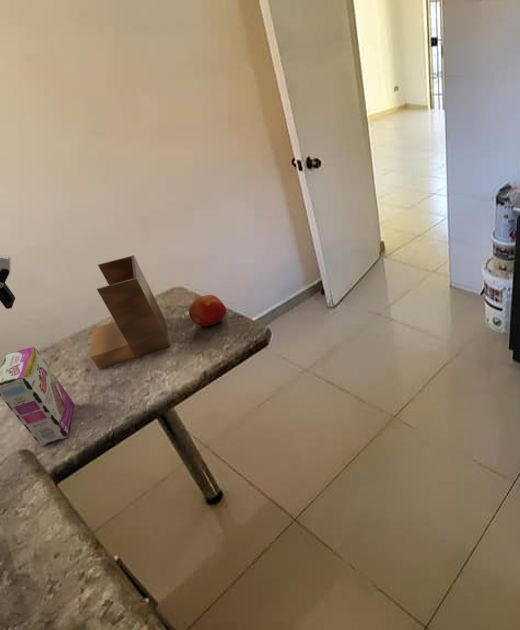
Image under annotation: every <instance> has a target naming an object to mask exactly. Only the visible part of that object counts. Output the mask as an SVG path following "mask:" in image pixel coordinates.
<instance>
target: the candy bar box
mask: <svg viewBox="0 0 520 630" xmlns="http://www.w3.org/2000/svg"><path fill="white" fill-rule="evenodd" d="M0 398H1V400H2V401H3V402H4V403H5V404H6V406H7V407H8V408H9V409H10V410H11V412H12V414H14V415H15V416H16V417H17V419H18V420H19V421H20V423H21V424H22V425H23V426H24V427H25V428H26V430H27V431H28V432H29V433H30V435H31V436H32V437H33V438H34V440H35V442H37V443H38V445H39V446H40V447H44V446H48V445H51V444H53V443H56V442H59V441H63V440H65V439H67V438H69V436H70V430H71V423H72V419H73V413H74V408H75V403H74V401H73V400H72V398H71V397H70V395H69V394H68V392H67V391H66V390H65V388H64V387H63V386H62V384H61V383H60V381H59V379H58V378H57V377H56V376H55V374H54V373H53V371H52V369H51V368H50V366H49V364H47V362H46V361H45V359H44V358H43V357H42V355H41V354H40V352H39V351H38V349H37V348H36V347H35V346H31V347H28V348H25V349H20V350H17V351H14V352H11V353H7V354H6V356H5V357H4V360H3V362H2V364H1V366H0Z"/></svg>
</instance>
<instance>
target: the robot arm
mask: <svg viewBox="0 0 520 630" xmlns="http://www.w3.org/2000/svg"><path fill="white" fill-rule="evenodd" d="M11 261H12V260H11V257H10V256H9V255H4V254H3V255H1V254H0V303H1V304H2V306H3V307H4V308H5V309H7V310H9V309H12V308H13V306H14V303H15V301H16V297H15V294H14V293H13V292H12V290H11V289H10V288H9V286H8V285H7V283H6V281H7V279H8V277H9V275H10V273H11V272H12V271H11V264H12V263H11Z"/></svg>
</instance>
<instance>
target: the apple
mask: <svg viewBox="0 0 520 630" xmlns="http://www.w3.org/2000/svg"><path fill="white" fill-rule="evenodd" d="M226 314H227V308H226V305H225V304H224V303H223V301H222V300H221V299H220V298H218V297H217V296H216V295H214V294H205V295H203V296H199V297H198V298H196V299H195V300H194V301H193V302H192V303H191V304H190V306H189V308H188V315H189V318H190V319H191V321H193V323H195V324H196V325H198V326H201V327H209V326H213V325H215V324H218V323H219V322H221V321H222V320H223V319H224V317H225V316H226Z"/></svg>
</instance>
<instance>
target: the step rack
mask: <svg viewBox="0 0 520 630" xmlns="http://www.w3.org/2000/svg"><path fill="white" fill-rule="evenodd" d="M97 266H98V268H99V270H100V272H101V273H102V276H103V277H104V279H105V281H106V283H107V285H105V286H101V287H98V288H96V291H97V292H98V294H99V296H100V297H101V299H102V301H103V303H104V304H105V307H106V308H107V310H108V312H109V314H110V315H111V317H112V319H113V321H114V322H110V323H106V324H103V325H101V326H97V327H94V328H92V331H91V332H92V333H91V335H92V336H91V351H90V353H91V354H90V357H91V359H92V360H93V362H94V363H95V365H96V367H97V368H98V370H103V369H105V368H108V367H110V366H113V365H116V364H119V363H122V362H125V361H128V360H132V359H134V358H136V359H137V358H140V357H144V356H146V355H149V354H152V353H155V352H158V351H161V350H164V349H167V348H169V347H170V348H171V341H170V337H169V332H168V328H167V322H166V318H165V316H164V313H163V312H162V310H161V307H160V306H159V304H158V302H157V300H156V298H155V295H154V293H153V291H152V289H151V287H150V286H149V283H148V282H147V279H146V277H145V275H144V273H143V271H142V268H141V267H140V265H139V263H138V260H137V259H136V256H135V255H129V256H125V257H122V258H118V259H114V260H110V261H106V262H102V263H98V264H97Z"/></svg>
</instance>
